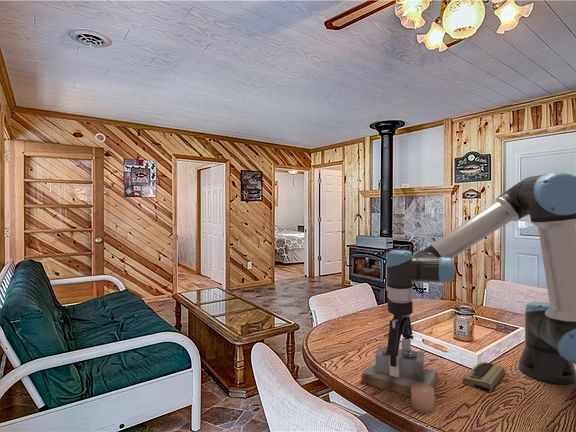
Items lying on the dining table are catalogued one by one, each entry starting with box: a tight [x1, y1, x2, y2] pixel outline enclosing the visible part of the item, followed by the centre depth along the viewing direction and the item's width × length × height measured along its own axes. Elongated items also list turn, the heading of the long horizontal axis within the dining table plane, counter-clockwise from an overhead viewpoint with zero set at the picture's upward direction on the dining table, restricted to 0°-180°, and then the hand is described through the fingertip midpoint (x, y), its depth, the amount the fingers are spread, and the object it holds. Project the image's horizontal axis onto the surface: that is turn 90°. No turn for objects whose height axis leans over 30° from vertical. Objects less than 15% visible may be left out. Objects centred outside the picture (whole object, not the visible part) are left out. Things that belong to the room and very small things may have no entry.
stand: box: [360, 358, 439, 398], centre depth 109 cm, size 20×14×3 cm
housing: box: [375, 345, 425, 382], centre depth 109 cm, size 14×7×7 cm, turn 68°
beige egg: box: [410, 383, 435, 414], centre depth 96 cm, size 6×6×5 cm
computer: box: [462, 361, 506, 393], centre depth 110 cm, size 16×8×3 cm, turn 135°
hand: (400, 366), depth 109 cm, fingers open, 13 cm apart
